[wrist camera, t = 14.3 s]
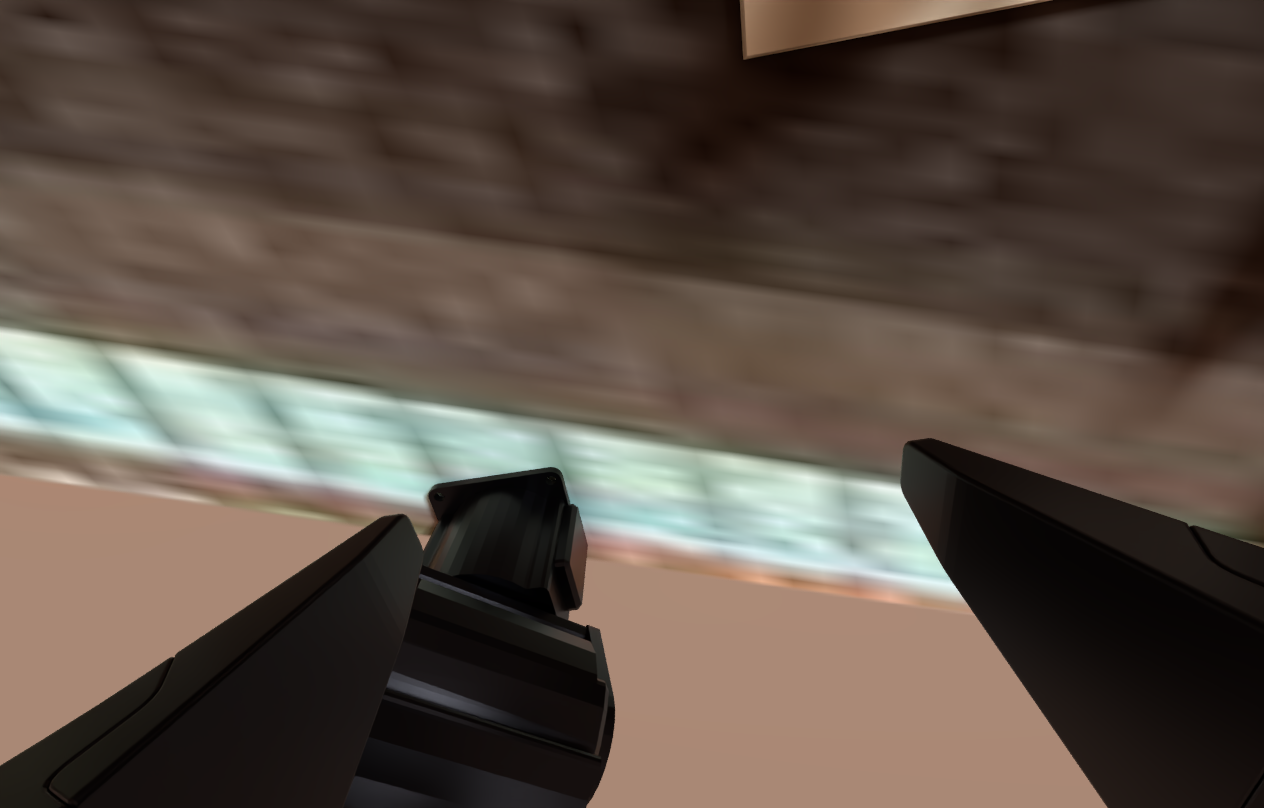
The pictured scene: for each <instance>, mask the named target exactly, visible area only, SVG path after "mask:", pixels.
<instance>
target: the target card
mask: <svg viewBox="0 0 1264 808" xmlns="http://www.w3.org/2000/svg"><path fill="white" fill-rule="evenodd" d="M1046 1H1051V0H740V12H741V29H742V47H743V60H745V59H750V58H755V57H760V56H766V55H771V54H776V53H781V52H786V51H791V50H797V49H802V48H807V47H812V46H817V45H823V44H828V43H833V42H838V41H843V40H849V39H854V38H859V37H864V36H869V35H875V34H880V33H885V32H890V31H895V30H900V29H906V28H911V27H916V26H921V25H926V24H932V23H937V22H942V21H947V20H952V19H958V18H963V17H968V16H973V15H978V14H984V13H989V12H994V11H999V10H1004V9H1009V8H1015V7H1020V6H1025V5H1030V4H1035V3H1041V2H1046Z"/></svg>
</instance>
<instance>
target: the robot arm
mask: <svg viewBox="0 0 1264 808" xmlns="http://www.w3.org/2000/svg"><path fill="white" fill-rule="evenodd" d="M549 476H553V477H555V478H556V480H549V479H548V478H547V477H549ZM900 483H901V489H902V492H903V494H904V497H905V498H906V500H907V502H908V504H909V506H910V508H911V510H912V511H913V513H914V515H915V517H916V519H917V521H918V523H919V525H920V526H921V528H922V530H923V532H924V534H925V536H926V538H927V539H928V541H929V543H930V545H931V547H932V549H933V551H934V553H935V554H936V556H937V558H938V560H939V561H940V563H941V565H942V567H943V568H944V570H945V571H946V573H947V575H948V576H949V578H950V579H951V581H952V582H953V584H954V585H955V586H956V588H957V589H958V591H959V592H960V594H961V595H962V597H963V598H964V600H965V601H966V602H967V604H968V605H969V607H970V608H971V610H972V611H973V613H974V614H975V616H976V617H977V618H978V620H979V621H980V623H981V624H982V626H983V627H984V629H985V630H986V632H987V633H988V634H989V636H990V637H991V639H992V640H993V642H994V643H995V645H996V646H997V648H998V649H999V650H1000V652H1001V653H1002V655H1003V656H1004V658H1005V659H1006V661H1007V662H1008V664H1009V665H1010V666H1011V668H1012V669H1013V671H1014V672H1015V674H1016V675H1017V677H1018V678H1019V679H1020V681H1021V682H1022V684H1023V685H1024V687H1025V688H1026V690H1027V691H1028V692H1029V694H1030V695H1031V697H1032V698H1033V700H1034V701H1035V703H1036V704H1037V705H1038V707H1039V709H1040V710H1041V711H1042V713H1043V714H1044V716H1045V717H1046V719H1047V720H1048V722H1049V723H1050V725H1051V726H1052V727H1053V729H1054V730H1055V732H1056V733H1057V735H1058V736H1059V737H1060V739H1061V740H1062V742H1063V743H1064V745H1065V746H1066V748H1067V749H1068V751H1069V752H1070V754H1071V755H1072V757H1073V758H1074V759H1075V761H1076V762H1077V764H1078V765H1079V767H1080V768H1081V770H1082V771H1083V773H1084V774H1085V775H1086V777H1087V778H1088V780H1089V781H1090V783H1091V784H1092V785H1093V787H1094V788H1095V790H1096V791H1097V793H1098V794H1099V796H1100V797H1101V799H1102V800H1103V802H1104V803H1105V804H1106V806H1107V807H1108V808H1264V548H1262V547H1259V546H1256V545H1253V544H1250V543H1246V542H1243V541H1240V540H1237V539H1234V538H1231V537H1228V536H1225V535H1222V534H1219V533H1216V532H1213V531H1210V530H1207V529H1204V528H1201V527H1198V526H1190V527H1189V526H1188V524H1187V523H1185V522H1183V521H1180V520H1177V519H1173V518H1170V517H1167V516H1164V515H1161V514H1158V513H1155V512H1152V511H1149V510H1146V509H1143V508H1140V507H1137V506H1134V505H1131V504H1128V503H1125V502H1122V501H1119V500H1116V499H1113V498H1110V497H1107V496H1104V495H1101V494H1098V493H1095V492H1092V491H1089V490H1086V489H1083V488H1080V487H1077V486H1074V485H1071V484H1068V483H1065V482H1062V481H1059V480H1056V479H1053V478H1050V477H1047V476H1044V475H1041V474H1038V473H1035V472H1032V471H1029V470H1026V469H1023V468H1020V467H1017V466H1014V465H1011V464H1008V463H1005V462H1002V461H999V460H996V459H993V458H990V457H987V456H984V455H981V454H978V453H975V452H972V451H969V450H966V449H963V448H960V447H957V446H954V445H951V444H948V443H945V442H942V441H939V440H936V439H932V438H926V439H919V440H913V441H908V442H907V443H906V444H905V445H904V448H903V455H902V467H901V479H900ZM437 493H441V494H443V495H444V496H439V495H438V494H437ZM429 500H430V502H431V504H432V507H433V509H434V512H435V514H436V516H437V519H438V521H439V522H438V524H437V526H436V528H435V530H434V531H433V533H432V535H431V537H430V539H429V541H428V543H427V545H426V547H425V549H424V550H423V549H422V546H421V543H420V541H419V539H418V537H417V534H416V532H415V530H414V528H413V525H412V523H411V521H410V519H409V518H408V517H407V516H406V515H404V514H396V515H389V516H383V517H381V518H379V519H377V520H376V521H374V522H373V523H371V524H370V525H368V526H367V527H365V528H364V529H362V530H361V531H360V532H358V533H356V534H355V535H354V536H352V537H350V538H349V539H347V540H346V541H345V542H343V543H341V544H340V545H338V546H337V547H335V548H334V549H333V550H331V551H329V552H328V553H327V554H325V555H323V556H322V557H321V558H319V559H318V560H316V561H314V562H313V563H311V564H310V565H308V566H307V567H305V568H304V569H302V570H301V571H299V572H298V573H296V574H295V575H293V576H292V577H290V578H289V579H287V580H286V581H284V582H283V583H281V584H280V585H278V586H277V587H275V588H274V589H272V590H271V591H269V592H268V593H266V594H265V595H263V596H262V597H260V598H259V599H257V600H256V601H254V602H253V603H251V604H250V605H248V606H247V607H246V608H244V609H243V610H241V611H239V612H238V613H236V614H235V615H233V616H232V617H230V618H229V619H227V620H226V621H224V622H223V623H221V624H220V625H218V626H217V627H215V628H214V629H212V630H211V631H210V632H208V633H206V634H205V635H203V636H202V637H200V638H199V639H197V640H196V641H194V642H193V643H191V644H190V645H188V646H187V647H185V648H184V649H182V650H181V651H179V652H178V653H177V654H176V655H175V657H171V658H169V659H167V660H166V661H164V662H163V663H161V664H160V665H158V666H157V667H155V668H154V669H152V670H151V671H149V672H148V673H146V674H145V675H143V676H141V677H140V678H138V679H137V680H135V681H134V682H132V683H131V684H129V685H128V686H126V687H125V688H123V689H122V690H120V691H118V692H117V693H115V694H114V695H112V696H111V697H109V698H108V699H106V700H105V701H103V702H102V703H100V704H99V705H97V706H95V707H94V708H92V709H91V710H89V711H87V712H86V713H84V714H83V715H81V716H79V717H78V718H76V719H75V720H73V721H71V722H70V723H68V724H67V725H65V726H64V727H62V728H60V729H59V730H57V731H56V732H54V733H52V734H51V735H49V736H48V737H46V738H45V739H43V740H41V741H40V742H38V743H36V744H35V745H33V746H31V747H30V748H28V749H26V750H25V751H24V752H22V753H20V754H18V755H17V756H15V757H13V758H12V759H10V760H9V761H7V762H5V763H4V764H2V765H1V766H0V808H586V806H587V804H588V803H589V801H590V800H591V799H592V797H593V795H594V793H595V791H596V789H597V787H598V785H599V783H600V780H601V778H602V775H603V773H604V770H605V767H606V763H607V760H608V757H609V753H610V748H611V743H612V738H613V731H614V723H615V704H614V696H613V691H612V687H611V682H610V677H609V673H608V668H607V663H606V658H605V653H604V648H603V643H602V639H601V633H600V630H599V629H597V628H595V627H592V626H589V625H587V626H586V627H585V626H582V625H579V624H577V623H574V622H572V621H569V620H568V618H569V611H571V610H577V609H579V607H580V606H581V605H582V598H583V588H584V578H585V567H586V558H587V547H588V544H587V540H586V536H585V533H584V529H583V525H582V521H581V517H580V513H579V510H578V507H576V506H575V505H574V504H570V501H569V497H568V493H567V490H566V486H565V482H564V478H563V475H562V473H561V471H560V470H559V469H557V468H554V467H548V468H541V469H535V470H528V471H521V472H514V473H508V474H501V475H494V476H487V477H481V478H474V479H467V480H460V481H454V482H447V483H440V484H436V485H434V486H433V487H432V489H431V491H430V492H429Z"/></svg>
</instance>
